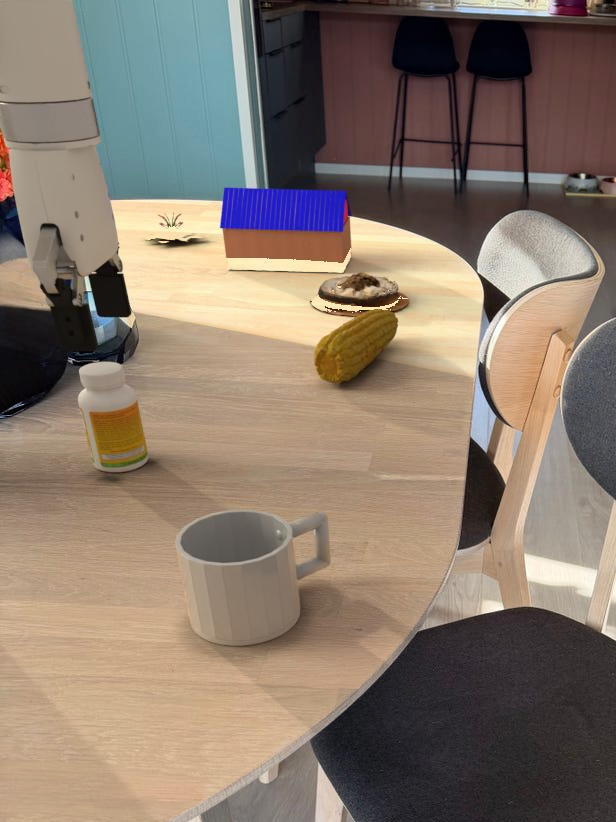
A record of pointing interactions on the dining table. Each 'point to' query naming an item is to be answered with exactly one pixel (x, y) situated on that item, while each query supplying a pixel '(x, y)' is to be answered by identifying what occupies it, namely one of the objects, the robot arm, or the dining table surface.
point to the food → (354, 345)
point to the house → (286, 224)
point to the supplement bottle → (111, 418)
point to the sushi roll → (361, 293)
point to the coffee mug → (246, 573)
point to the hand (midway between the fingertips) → (98, 332)
